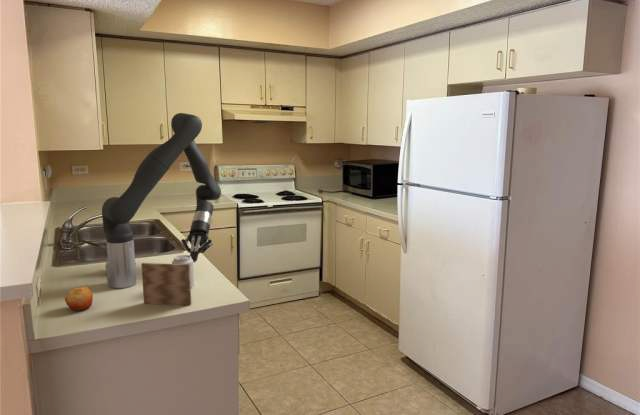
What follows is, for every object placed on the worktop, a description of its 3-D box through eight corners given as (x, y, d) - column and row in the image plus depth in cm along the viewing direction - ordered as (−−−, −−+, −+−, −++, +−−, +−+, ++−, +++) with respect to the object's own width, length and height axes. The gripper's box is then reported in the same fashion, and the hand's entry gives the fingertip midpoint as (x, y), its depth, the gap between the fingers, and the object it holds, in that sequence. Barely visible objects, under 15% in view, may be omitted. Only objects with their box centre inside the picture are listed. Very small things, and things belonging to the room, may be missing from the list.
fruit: (100, 297, 153) (93, 282, 148) (92, 317, 147) (84, 302, 142) (76, 297, 153) (68, 282, 148) (67, 317, 147) (58, 302, 142)
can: (173, 292, 163) (171, 260, 160) (173, 285, 170) (172, 254, 168) (194, 290, 165) (193, 258, 162) (194, 283, 172) (193, 253, 170)
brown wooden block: (144, 303, 152) (141, 264, 149) (151, 297, 158) (149, 258, 155) (190, 305, 151) (188, 265, 149) (196, 298, 157) (194, 259, 154)
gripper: (182, 219, 183) (173, 256, 173) (214, 219, 183) (206, 257, 173) (188, 228, 189) (179, 265, 180) (218, 229, 189) (211, 266, 179)
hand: (192, 261), depth 176 cm, fingers closed
